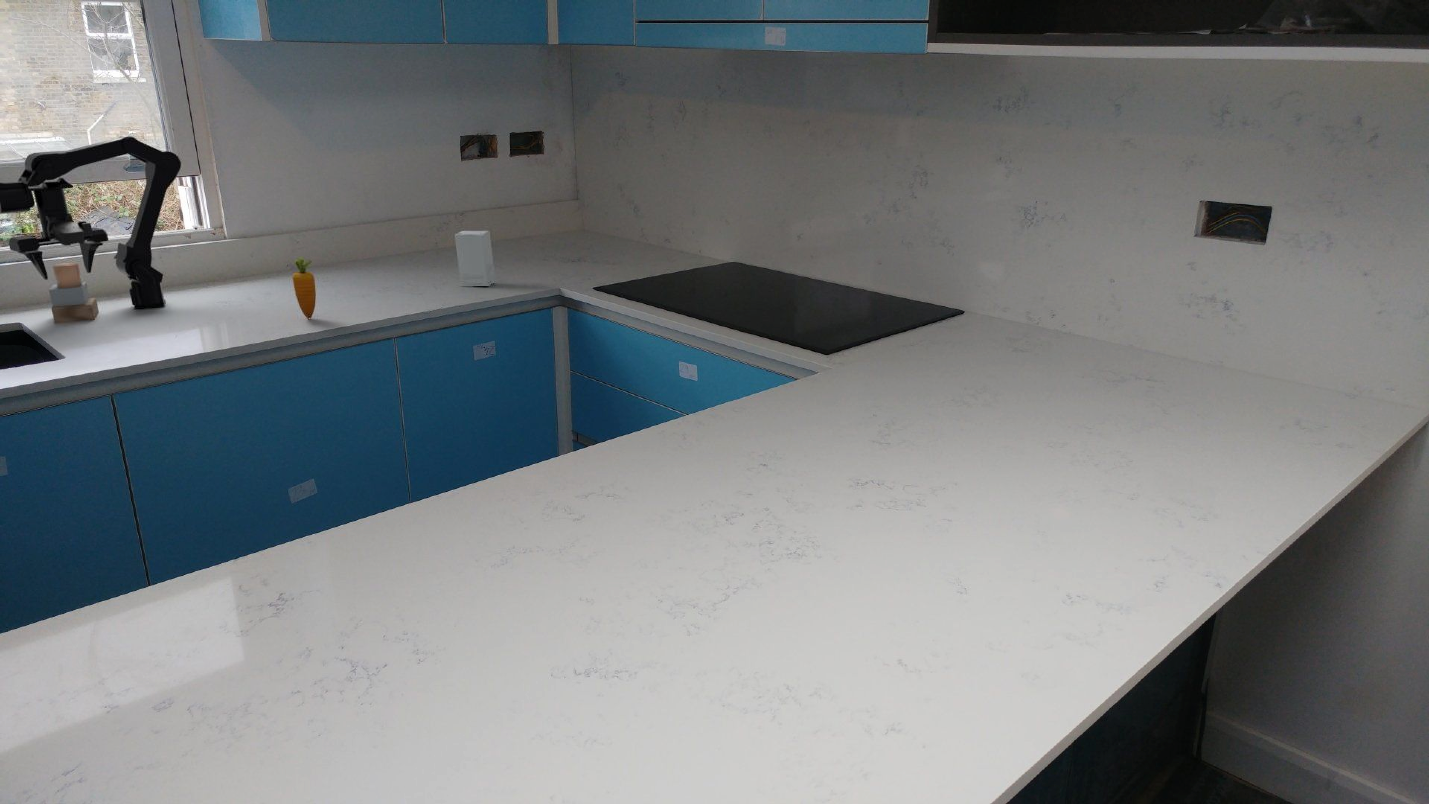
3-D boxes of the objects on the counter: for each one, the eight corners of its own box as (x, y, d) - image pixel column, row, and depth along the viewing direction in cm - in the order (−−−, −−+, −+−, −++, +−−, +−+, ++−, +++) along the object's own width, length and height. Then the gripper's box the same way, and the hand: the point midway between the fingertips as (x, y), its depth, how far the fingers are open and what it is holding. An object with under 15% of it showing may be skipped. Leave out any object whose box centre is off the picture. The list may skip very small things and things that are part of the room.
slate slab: (89, 298, 228) (86, 282, 227) (85, 304, 223) (81, 287, 222) (58, 300, 226) (54, 284, 225) (52, 306, 220) (48, 289, 219)
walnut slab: (99, 313, 231) (95, 297, 229) (95, 321, 224) (91, 304, 223) (60, 316, 227) (56, 300, 226) (55, 324, 221) (51, 307, 219)
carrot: (301, 316, 228) (293, 255, 223) (322, 316, 229) (314, 255, 224) (295, 321, 224) (285, 259, 219) (316, 321, 224) (308, 259, 219)
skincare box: (495, 283, 265) (492, 230, 260) (487, 288, 259) (483, 234, 254) (467, 282, 266) (463, 229, 261) (458, 286, 260) (454, 232, 255)
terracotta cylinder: (84, 282, 226) (79, 262, 225) (80, 287, 222) (75, 266, 220) (59, 284, 224) (55, 263, 223) (55, 288, 220) (50, 267, 218)
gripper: (22, 217, 205) (39, 287, 211) (112, 207, 220) (126, 273, 225) (0, 212, 211) (17, 281, 217) (89, 203, 226) (103, 268, 231)
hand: (67, 276), depth 222 cm, fingers open, 9 cm apart
